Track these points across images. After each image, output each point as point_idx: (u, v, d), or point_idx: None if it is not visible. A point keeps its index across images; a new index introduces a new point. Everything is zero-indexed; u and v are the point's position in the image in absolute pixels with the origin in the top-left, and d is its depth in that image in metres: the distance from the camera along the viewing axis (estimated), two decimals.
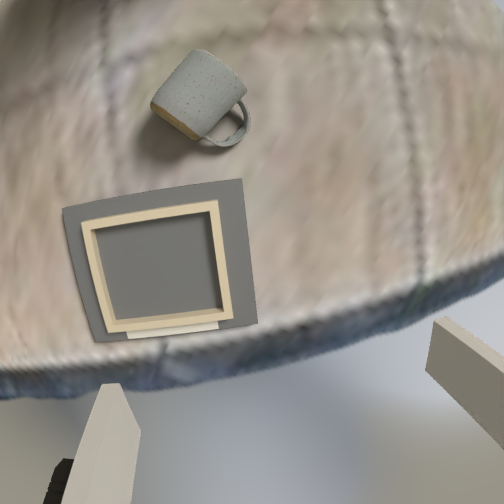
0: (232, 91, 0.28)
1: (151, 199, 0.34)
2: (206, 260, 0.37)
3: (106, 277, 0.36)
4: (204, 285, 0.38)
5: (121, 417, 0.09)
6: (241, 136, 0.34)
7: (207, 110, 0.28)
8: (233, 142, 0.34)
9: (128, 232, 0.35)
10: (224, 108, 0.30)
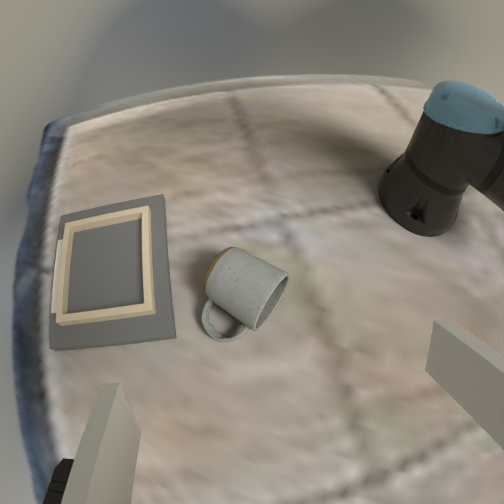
0: (246, 308, 0.33)
1: (159, 260, 0.41)
2: (105, 304, 0.38)
3: (105, 226, 0.44)
4: (86, 302, 0.38)
5: (121, 417, 0.09)
6: (212, 335, 0.37)
7: (225, 287, 0.34)
8: (206, 327, 0.37)
9: (136, 243, 0.43)
10: (231, 306, 0.35)
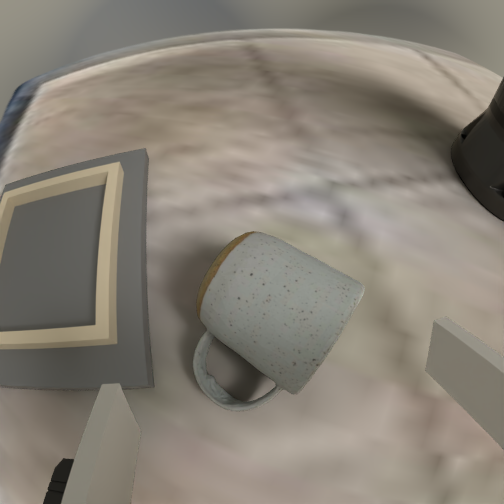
0: (286, 360, 0.15)
1: (130, 248, 0.23)
2: (40, 321, 0.20)
3: (56, 196, 0.26)
4: (15, 316, 0.20)
5: (121, 417, 0.09)
6: (213, 397, 0.18)
7: (241, 314, 0.16)
8: (201, 383, 0.19)
9: (96, 220, 0.25)
10: (252, 352, 0.16)
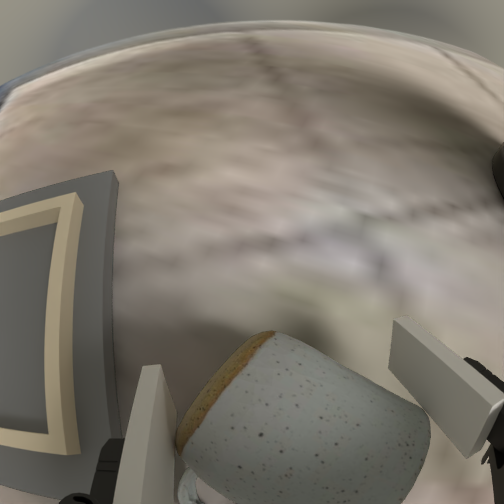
0: None
1: (88, 322, 0.16)
2: None
3: (5, 237, 0.18)
4: None
5: (163, 396, 0.11)
6: None
7: (244, 486, 0.08)
8: None
9: (47, 275, 0.17)
10: None
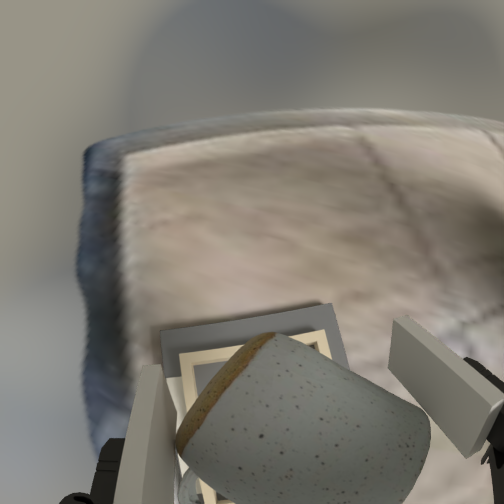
0: None
1: None
2: None
3: None
4: None
5: (163, 396, 0.11)
6: None
7: (244, 487, 0.08)
8: None
9: None
10: None
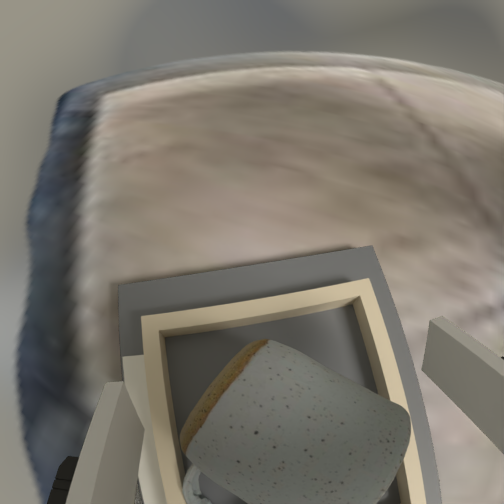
0: None
1: (411, 404, 0.16)
2: None
3: (258, 326, 0.19)
4: None
5: (125, 415, 0.10)
6: None
7: (243, 478, 0.09)
8: None
9: (352, 370, 0.17)
10: None
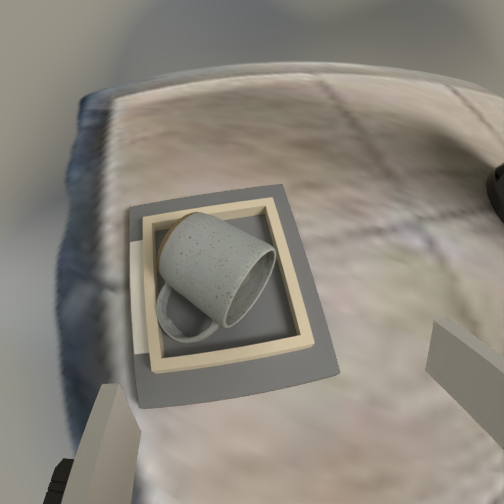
0: (211, 294, 0.23)
1: (302, 272, 0.31)
2: (230, 339, 0.27)
3: None
4: None
5: (121, 417, 0.09)
6: (169, 332, 0.26)
7: (183, 264, 0.24)
8: (161, 322, 0.26)
9: None
10: (191, 291, 0.24)
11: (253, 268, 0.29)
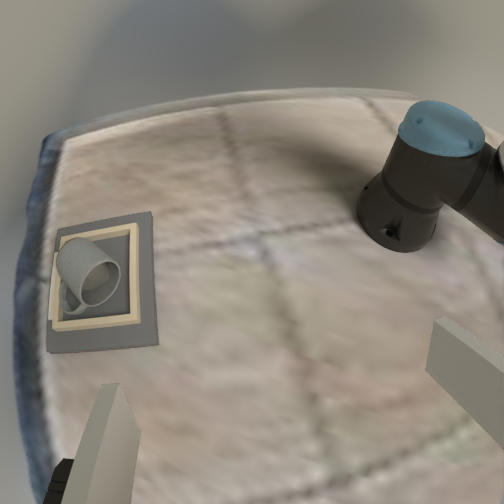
0: (73, 286, 0.37)
1: (145, 274, 0.45)
2: (96, 313, 0.41)
3: (98, 241, 0.47)
4: None
5: (121, 417, 0.09)
6: (63, 308, 0.40)
7: (63, 268, 0.38)
8: (60, 302, 0.40)
9: (125, 257, 0.46)
10: (68, 284, 0.38)
11: (112, 271, 0.43)
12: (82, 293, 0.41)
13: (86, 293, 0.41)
